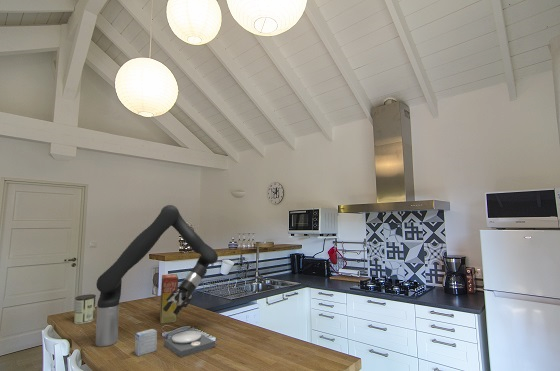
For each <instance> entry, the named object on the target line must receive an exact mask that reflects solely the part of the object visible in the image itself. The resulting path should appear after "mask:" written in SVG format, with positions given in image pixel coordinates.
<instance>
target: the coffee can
mask: <svg viewBox="0 0 560 371" xmlns="http://www.w3.org/2000/svg"><path fill="white" fill-rule="evenodd" d="M96 297H97V295H96V294H91V293H90V294H82V295H78V296H75V303H74V321H73V323H74V324H75V325H76V324H77V325H83V324H87V323H92V322H94V321H95V314H96V313H95V312H96Z"/></svg>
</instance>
